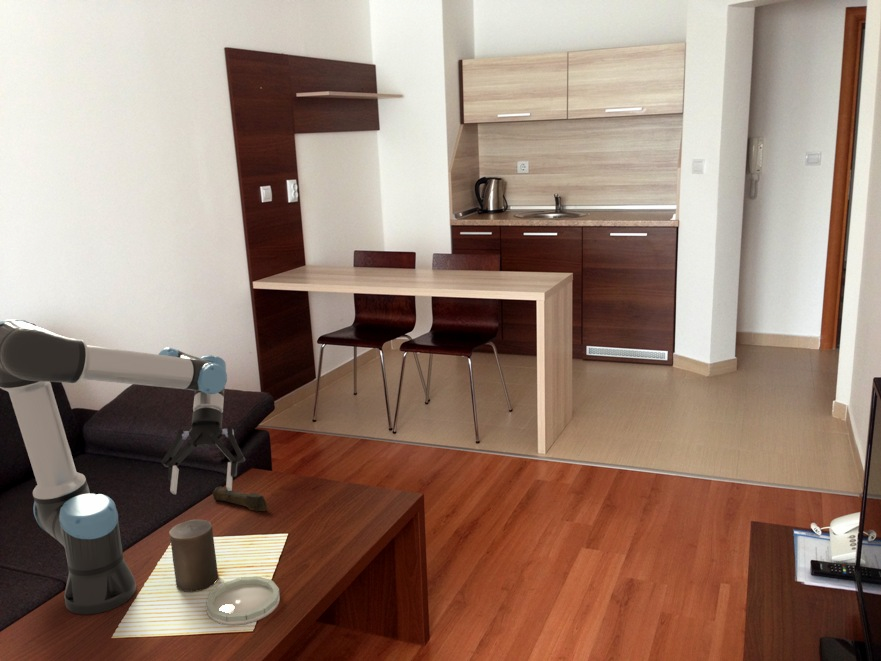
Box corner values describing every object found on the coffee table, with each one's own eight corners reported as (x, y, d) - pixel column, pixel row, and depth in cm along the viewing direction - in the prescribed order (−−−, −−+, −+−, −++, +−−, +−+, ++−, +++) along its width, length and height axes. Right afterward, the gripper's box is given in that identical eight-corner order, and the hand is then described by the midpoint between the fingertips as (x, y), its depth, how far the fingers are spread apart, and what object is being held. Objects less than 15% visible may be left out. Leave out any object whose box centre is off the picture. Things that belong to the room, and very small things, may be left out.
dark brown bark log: (212, 501, 228) (210, 487, 227) (222, 496, 231) (221, 481, 230) (259, 516, 218) (258, 501, 217) (269, 510, 222) (268, 495, 220)
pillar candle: (220, 586, 184) (214, 528, 181) (176, 596, 181) (169, 536, 177) (215, 566, 193) (209, 510, 190) (174, 575, 190) (167, 518, 186)
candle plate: (199, 627, 169) (198, 619, 168) (215, 586, 184) (214, 578, 184) (274, 622, 170) (273, 614, 169) (284, 581, 185) (283, 574, 185)
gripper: (258, 415, 208) (254, 492, 197) (163, 421, 207) (154, 499, 196) (253, 403, 202) (249, 482, 191) (155, 409, 201) (145, 488, 190)
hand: (201, 491), depth 194 cm, fingers open, 13 cm apart
